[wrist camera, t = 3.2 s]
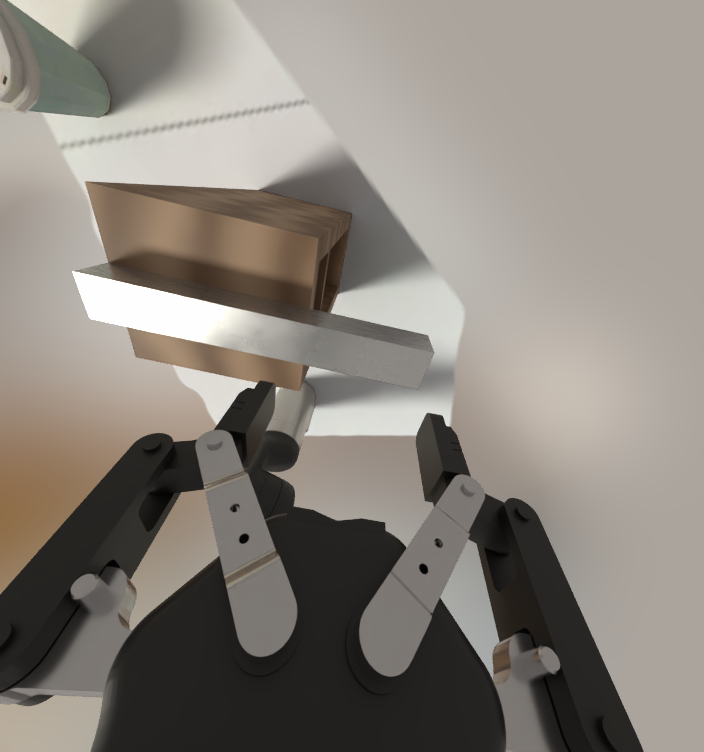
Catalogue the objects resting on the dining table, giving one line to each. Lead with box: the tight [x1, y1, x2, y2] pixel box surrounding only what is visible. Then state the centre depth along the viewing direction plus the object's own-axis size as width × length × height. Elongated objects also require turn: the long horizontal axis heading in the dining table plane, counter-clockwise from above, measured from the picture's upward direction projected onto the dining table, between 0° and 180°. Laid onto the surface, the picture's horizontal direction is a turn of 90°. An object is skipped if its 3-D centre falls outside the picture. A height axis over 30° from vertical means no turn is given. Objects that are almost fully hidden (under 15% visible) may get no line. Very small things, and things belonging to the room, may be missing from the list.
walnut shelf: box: [85, 182, 352, 391], centre depth 36 cm, size 16×14×32 cm
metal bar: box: [73, 263, 434, 389], centre depth 21 cm, size 26×4×3 cm, turn 78°
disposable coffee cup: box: [0, 0, 111, 118], centre depth 33 cm, size 11×11×15 cm
